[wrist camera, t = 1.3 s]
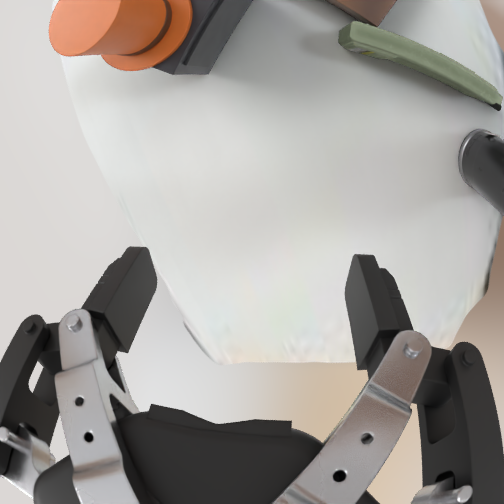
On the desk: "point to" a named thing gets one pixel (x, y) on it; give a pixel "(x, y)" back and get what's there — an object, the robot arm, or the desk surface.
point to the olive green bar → (417, 60)
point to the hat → (121, 30)
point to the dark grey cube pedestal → (205, 36)
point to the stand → (365, 9)
